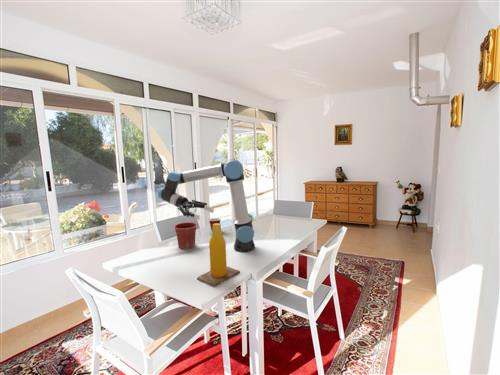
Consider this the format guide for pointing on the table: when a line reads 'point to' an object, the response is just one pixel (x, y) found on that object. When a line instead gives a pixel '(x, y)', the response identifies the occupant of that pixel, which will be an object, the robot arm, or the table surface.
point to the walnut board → (216, 281)
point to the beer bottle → (217, 252)
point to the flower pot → (186, 234)
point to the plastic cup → (214, 221)
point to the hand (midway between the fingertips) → (206, 214)
